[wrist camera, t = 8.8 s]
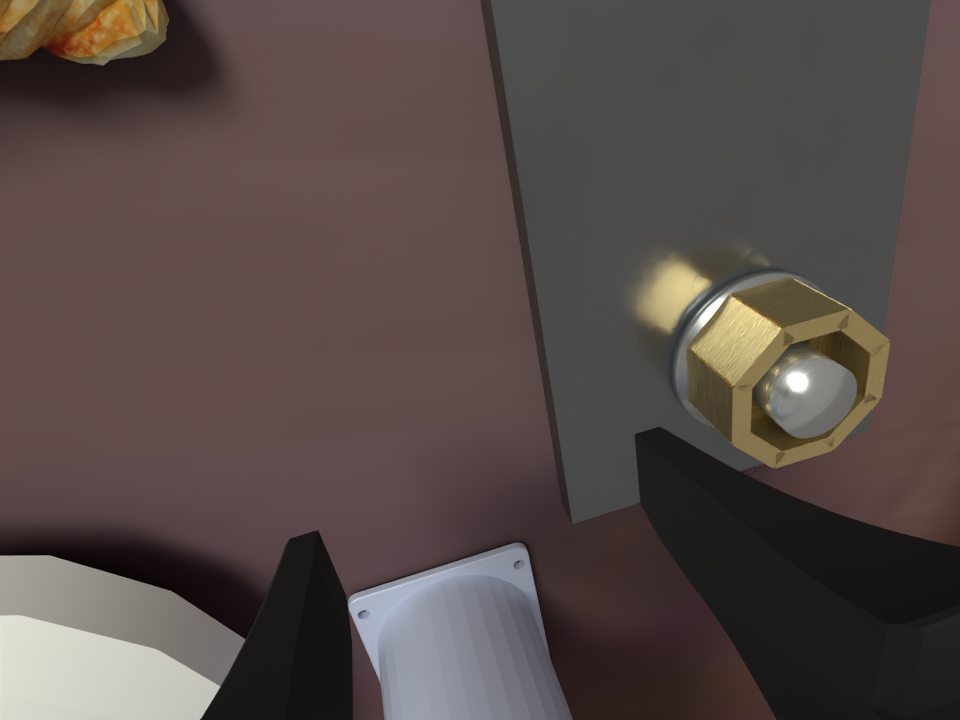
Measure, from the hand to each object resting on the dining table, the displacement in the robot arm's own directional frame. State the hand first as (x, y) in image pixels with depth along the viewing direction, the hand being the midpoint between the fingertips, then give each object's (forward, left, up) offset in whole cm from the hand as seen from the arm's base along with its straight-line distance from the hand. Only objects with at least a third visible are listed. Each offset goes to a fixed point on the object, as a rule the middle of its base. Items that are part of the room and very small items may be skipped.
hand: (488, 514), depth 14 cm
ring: (-4, -12, -8) cm, 15 cm away
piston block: (0, -11, -10) cm, 15 cm away
